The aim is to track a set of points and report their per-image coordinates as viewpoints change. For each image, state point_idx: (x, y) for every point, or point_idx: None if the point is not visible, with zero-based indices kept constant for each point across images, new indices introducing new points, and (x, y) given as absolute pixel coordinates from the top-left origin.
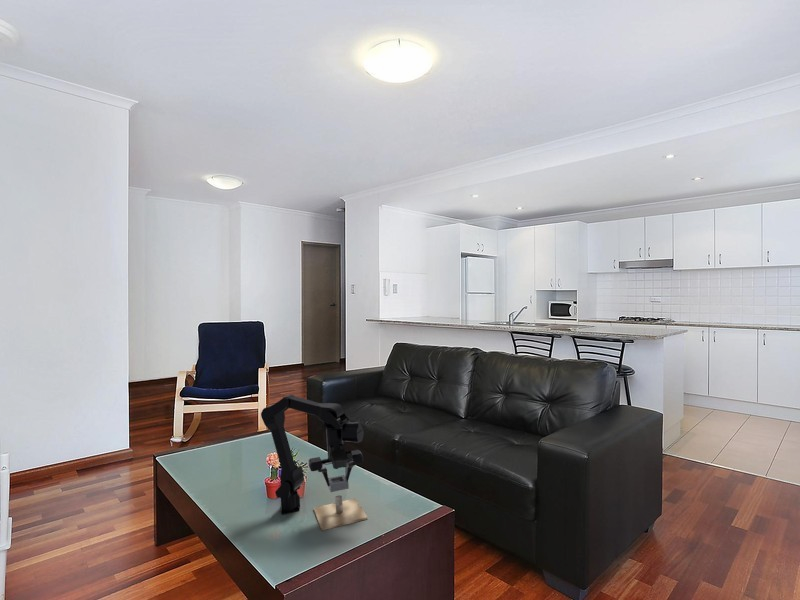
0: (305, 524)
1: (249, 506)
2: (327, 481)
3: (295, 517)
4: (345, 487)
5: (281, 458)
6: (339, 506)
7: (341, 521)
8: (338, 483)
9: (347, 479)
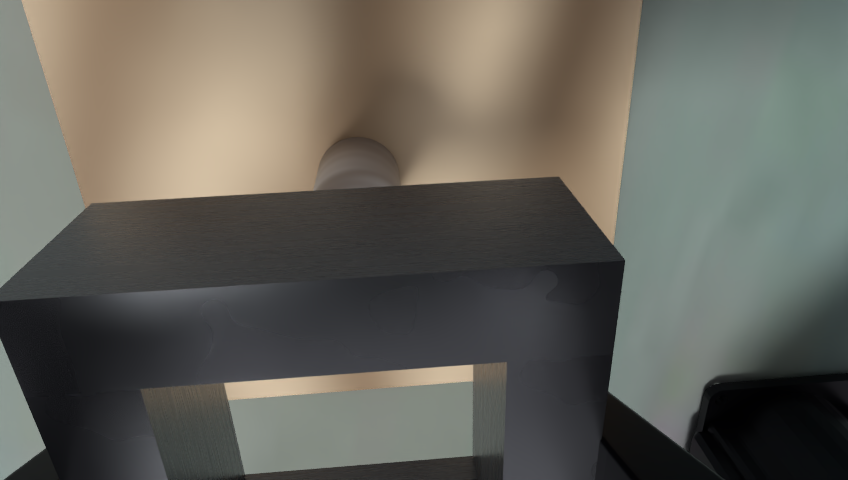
0: (746, 115)
1: None
2: (659, 460)
3: (775, 293)
4: (162, 215)
5: None
6: (358, 166)
7: None
8: (343, 280)
9: (45, 466)
